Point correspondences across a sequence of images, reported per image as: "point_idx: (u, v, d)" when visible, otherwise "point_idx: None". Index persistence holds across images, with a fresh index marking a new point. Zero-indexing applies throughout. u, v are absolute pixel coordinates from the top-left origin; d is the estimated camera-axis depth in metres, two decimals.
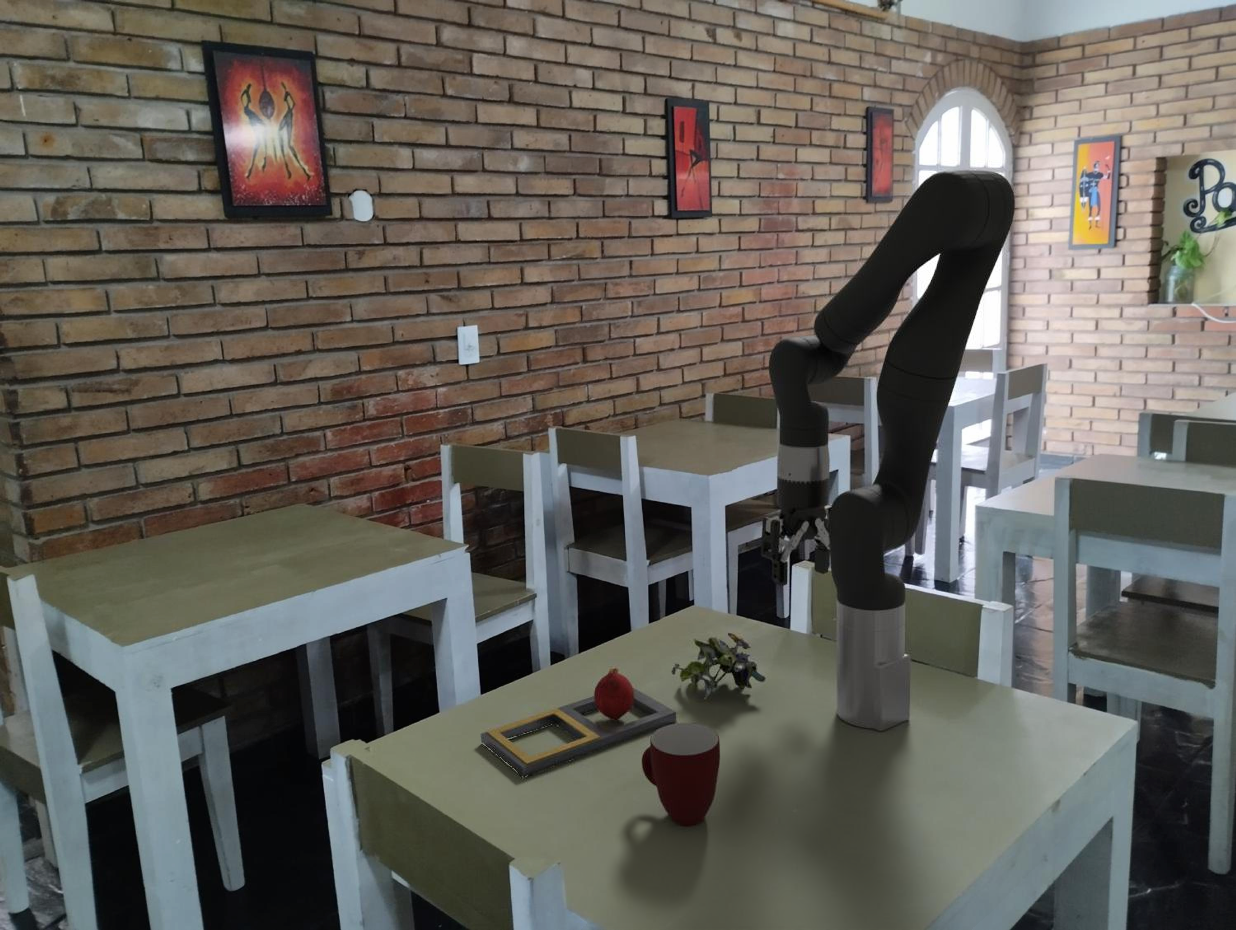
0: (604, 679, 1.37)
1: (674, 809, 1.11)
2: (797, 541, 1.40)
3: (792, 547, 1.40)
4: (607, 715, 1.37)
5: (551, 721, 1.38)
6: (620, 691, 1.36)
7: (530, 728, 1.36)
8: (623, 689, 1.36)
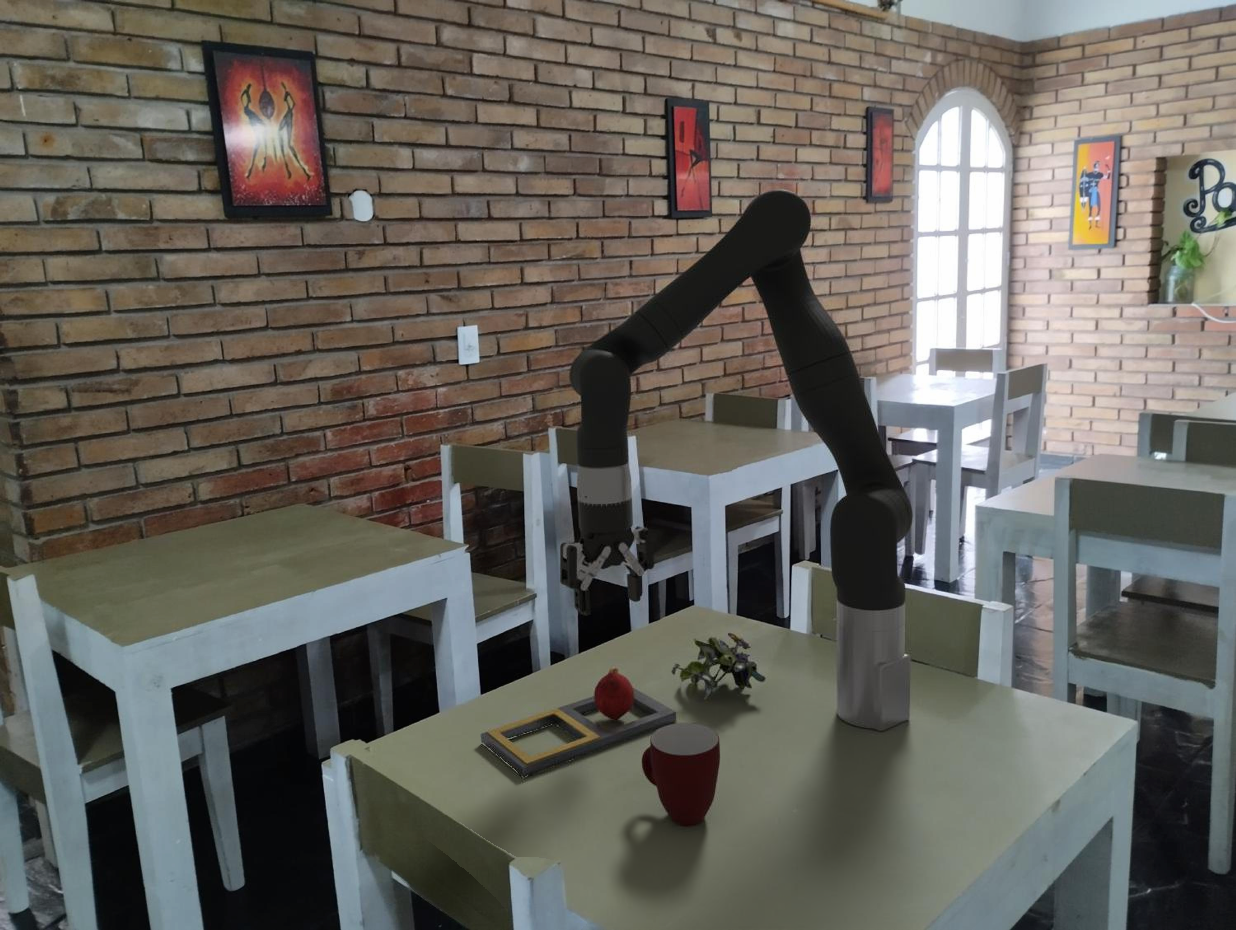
0: (604, 679, 1.37)
1: (674, 809, 1.11)
2: (598, 567, 1.32)
3: (592, 574, 1.32)
4: (607, 715, 1.37)
5: (551, 721, 1.38)
6: (620, 691, 1.36)
7: (530, 728, 1.36)
8: (623, 689, 1.36)
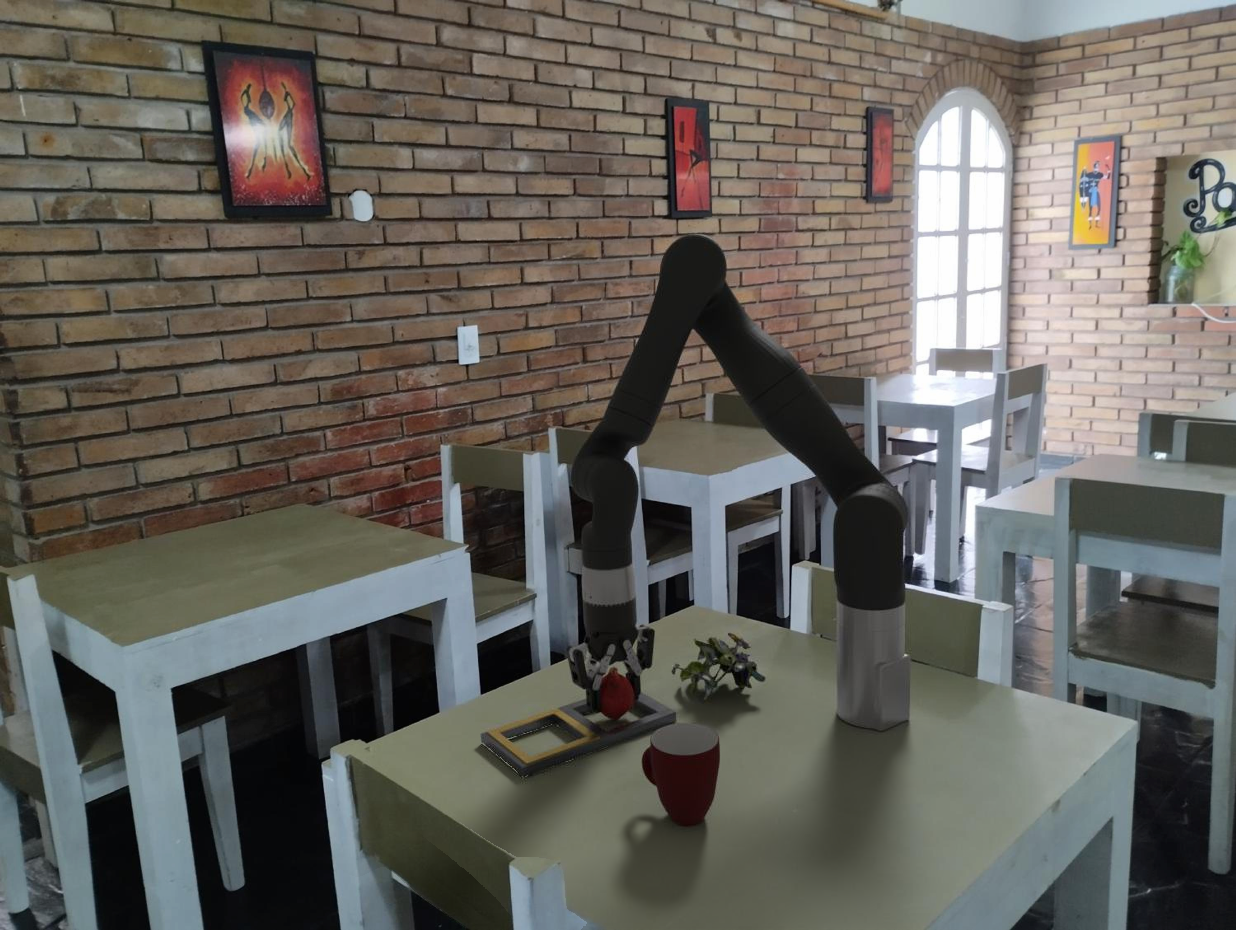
0: (603, 679, 1.37)
1: (674, 809, 1.11)
2: (606, 665, 1.35)
3: (602, 673, 1.35)
4: (607, 715, 1.37)
5: (551, 721, 1.38)
6: (619, 691, 1.36)
7: (530, 728, 1.36)
8: (623, 689, 1.36)
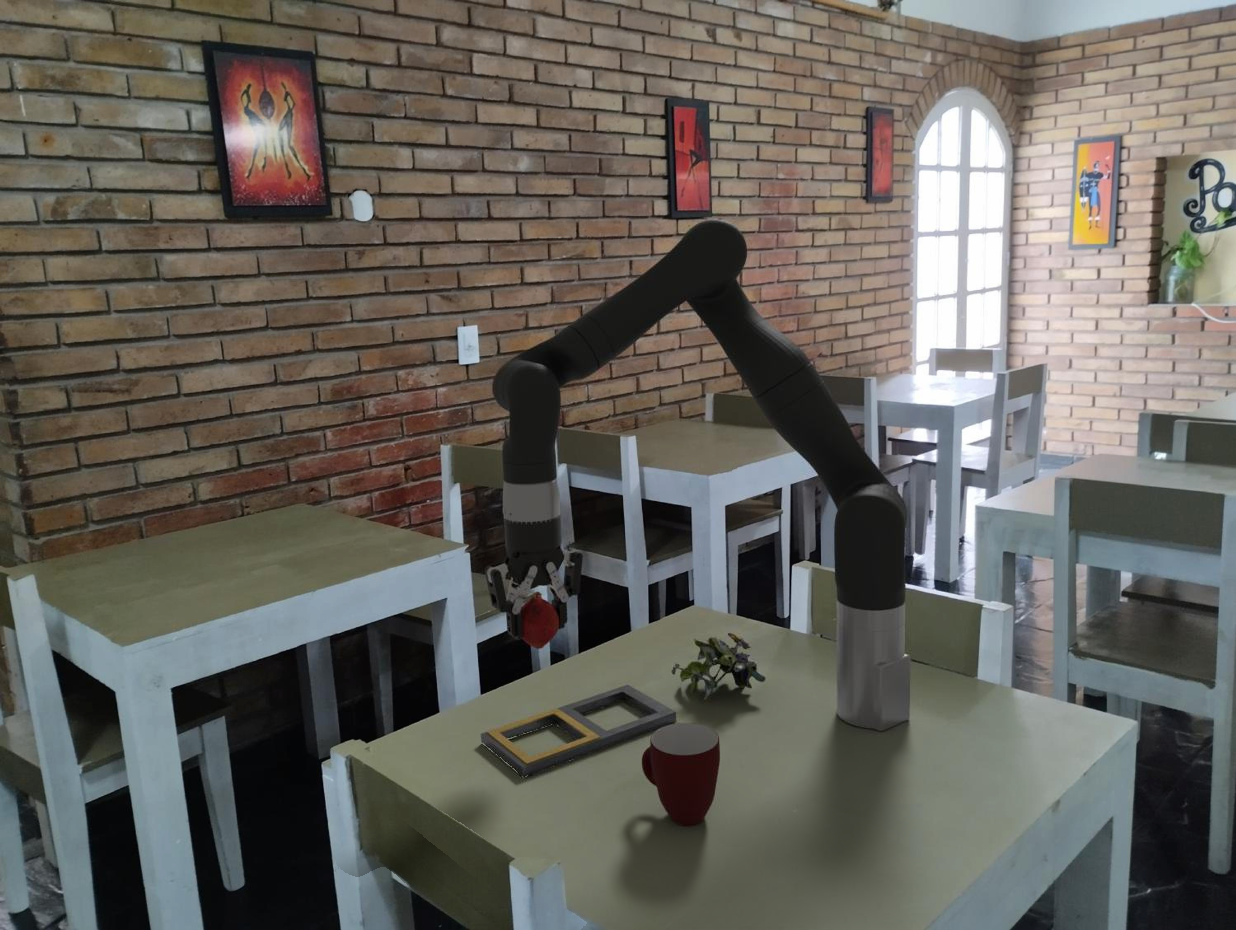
0: (526, 604, 1.29)
1: (674, 809, 1.11)
2: (527, 588, 1.27)
3: (522, 596, 1.27)
4: (529, 642, 1.29)
5: (551, 721, 1.38)
6: (542, 617, 1.28)
7: (530, 728, 1.36)
8: (546, 614, 1.28)
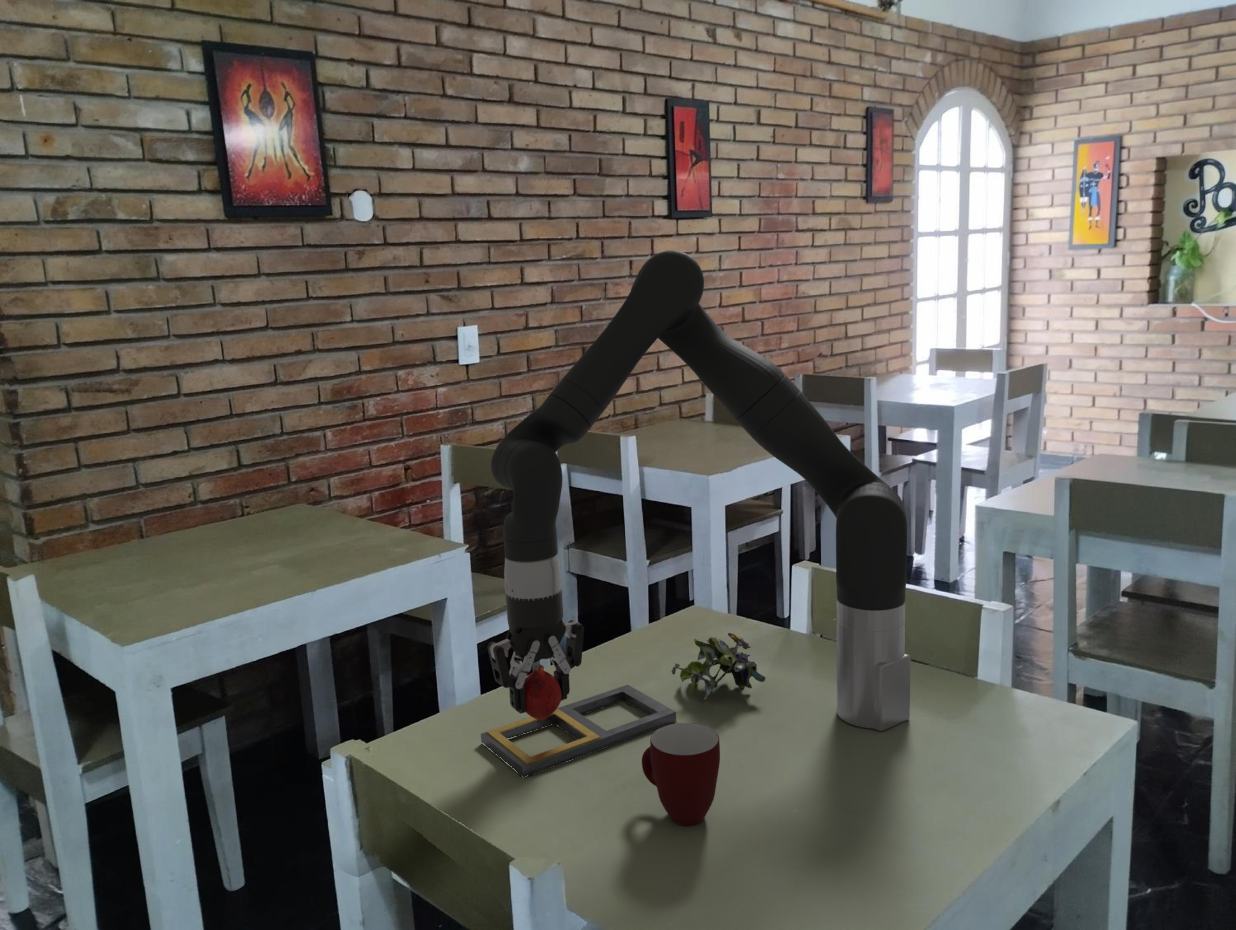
0: (528, 677, 1.30)
1: (674, 809, 1.11)
2: (530, 663, 1.28)
3: (525, 671, 1.28)
4: (532, 715, 1.30)
5: (551, 721, 1.38)
6: (544, 690, 1.29)
7: (530, 728, 1.36)
8: (548, 687, 1.29)
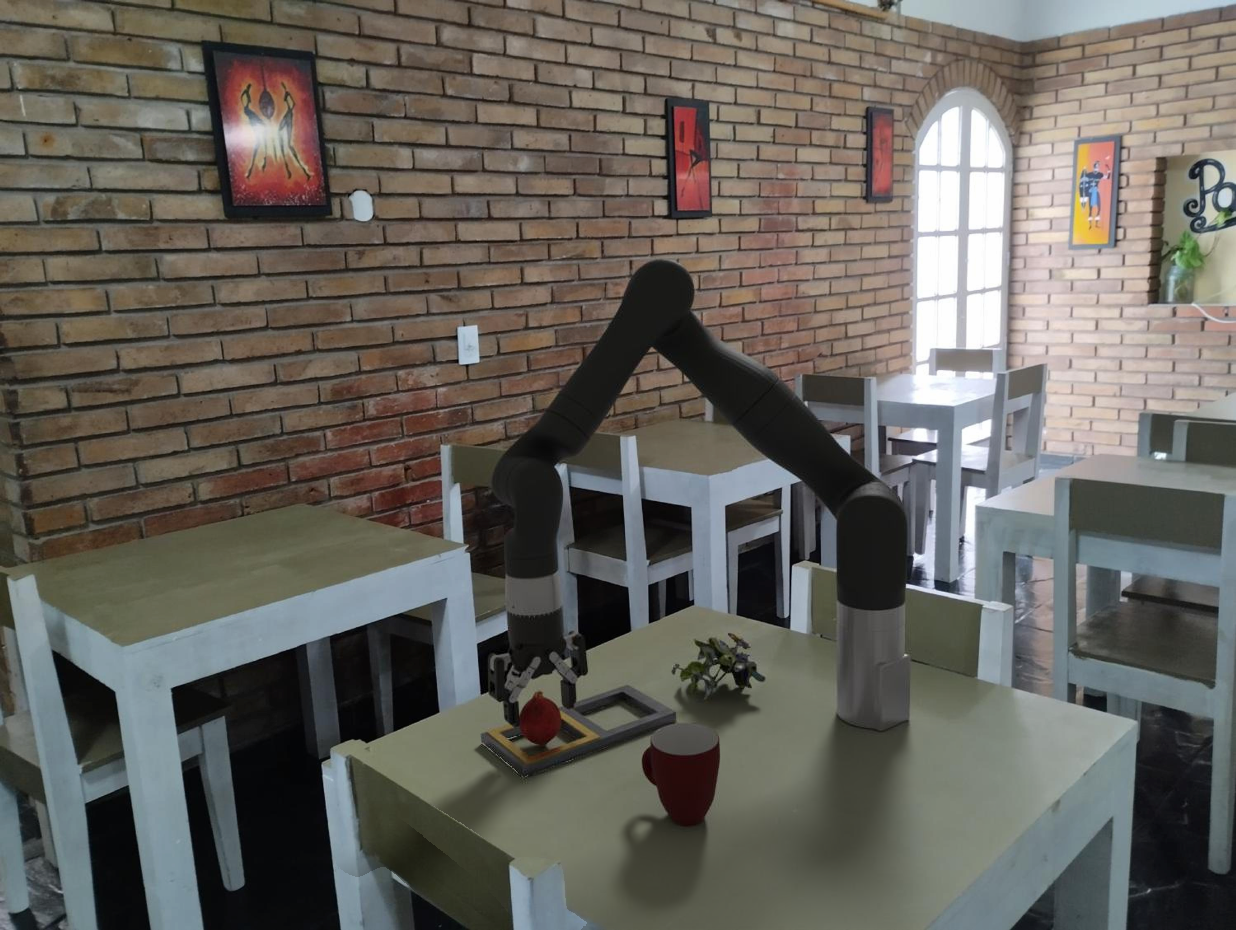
0: (528, 704, 1.31)
1: (674, 809, 1.11)
2: (527, 678, 1.28)
3: (521, 685, 1.27)
4: (533, 741, 1.30)
5: None
6: (544, 716, 1.29)
7: None
8: (548, 713, 1.30)
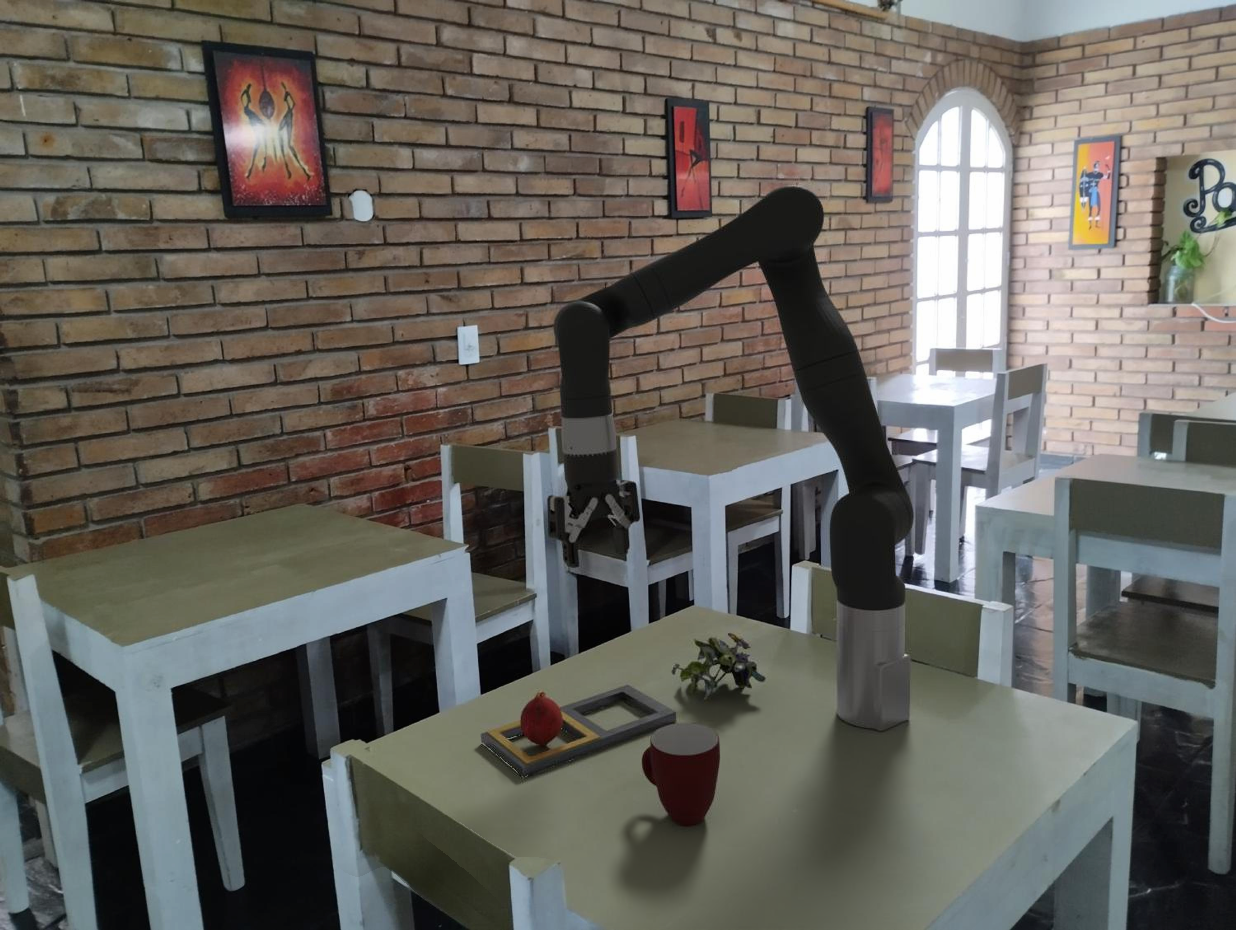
0: (530, 704, 1.30)
1: (674, 809, 1.11)
2: (586, 519, 1.32)
3: (580, 525, 1.32)
4: (533, 741, 1.30)
5: None
6: (546, 717, 1.29)
7: None
8: (550, 714, 1.30)
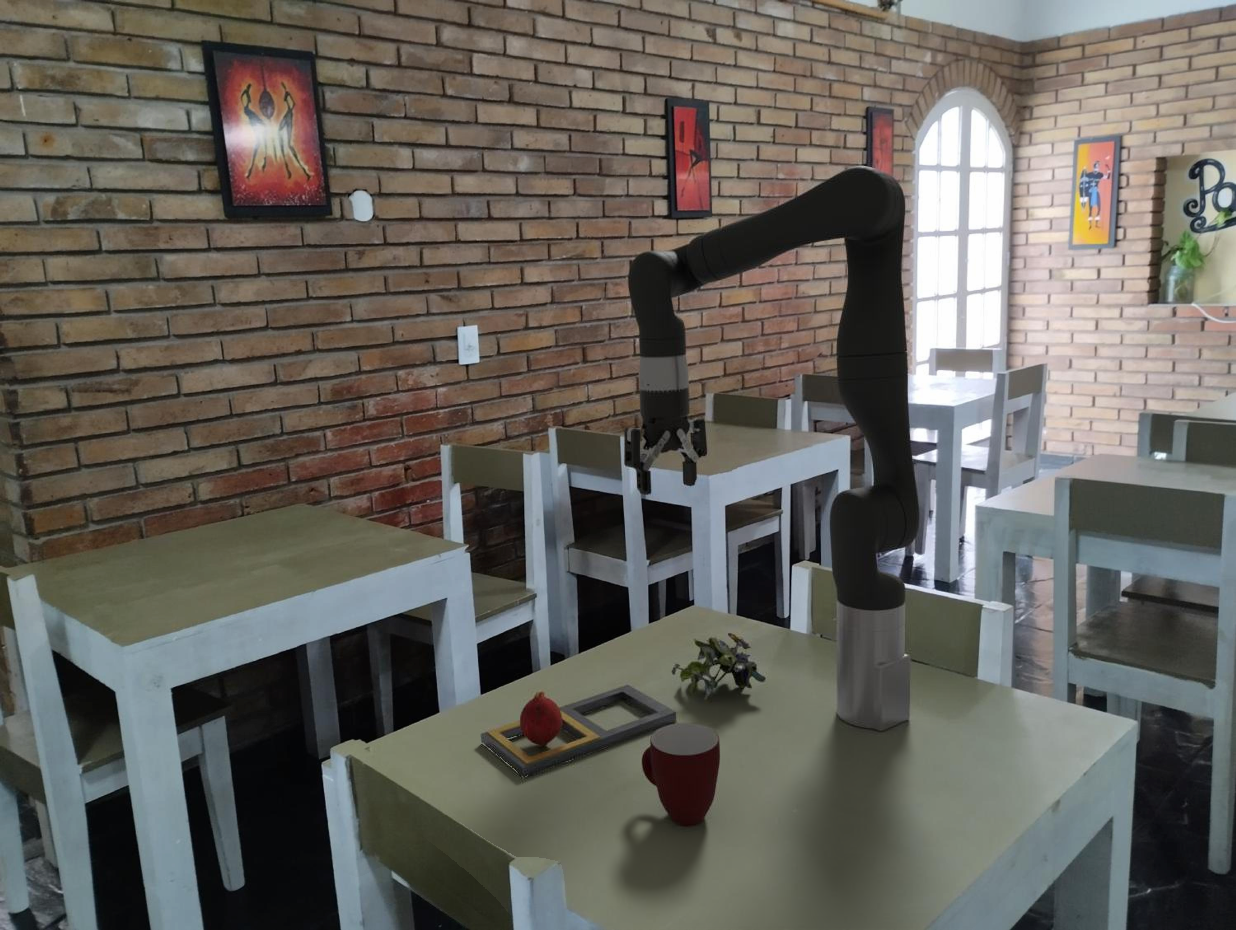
0: (529, 704, 1.31)
1: (674, 809, 1.11)
2: (659, 450, 1.45)
3: (654, 456, 1.45)
4: (533, 741, 1.30)
5: None
6: (546, 716, 1.29)
7: None
8: (550, 713, 1.30)
